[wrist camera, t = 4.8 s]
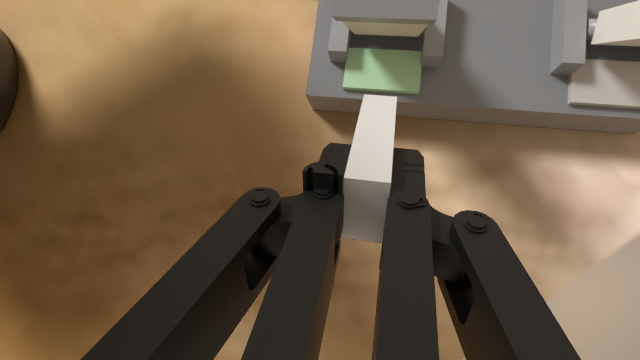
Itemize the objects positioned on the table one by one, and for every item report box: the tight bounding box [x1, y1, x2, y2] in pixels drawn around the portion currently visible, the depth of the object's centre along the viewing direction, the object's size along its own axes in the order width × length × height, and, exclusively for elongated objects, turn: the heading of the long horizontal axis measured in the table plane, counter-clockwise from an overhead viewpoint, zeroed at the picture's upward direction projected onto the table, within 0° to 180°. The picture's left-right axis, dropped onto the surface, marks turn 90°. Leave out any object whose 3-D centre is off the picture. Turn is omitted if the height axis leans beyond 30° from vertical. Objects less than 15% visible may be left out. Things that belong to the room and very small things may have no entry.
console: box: [306, 0, 640, 134], centre depth 25 cm, size 23×14×5 cm, turn 82°
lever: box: [331, 0, 440, 37], centre depth 19 cm, size 4×2×11 cm, turn 82°
